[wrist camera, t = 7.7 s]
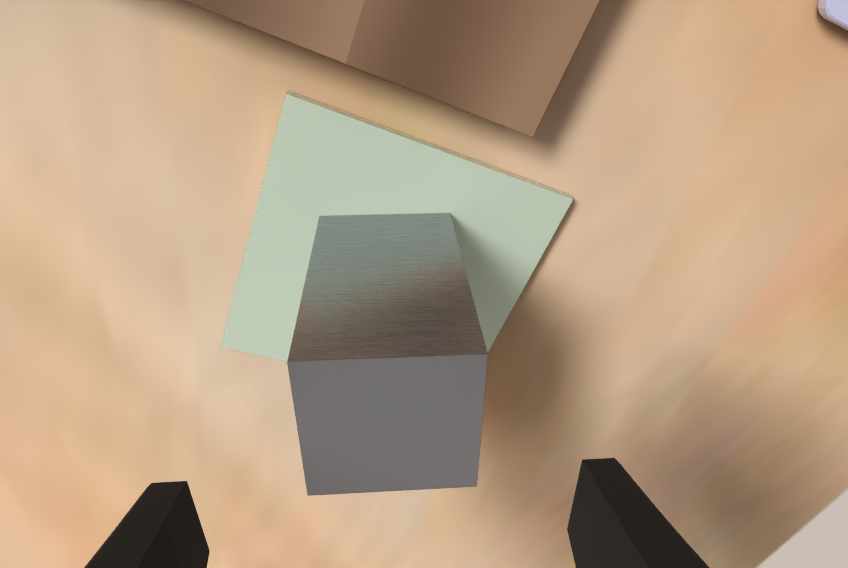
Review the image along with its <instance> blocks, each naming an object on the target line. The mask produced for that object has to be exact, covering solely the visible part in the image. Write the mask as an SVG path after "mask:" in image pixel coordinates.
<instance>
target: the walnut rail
mask: <svg viewBox="0 0 848 568" xmlns="http://www.w3.org/2000/svg"><path fill="white" fill-rule="evenodd" d="M184 1H187V2H189V3H192V4H194V5H197V6H199V7H202V8H204V9H207V10H209V11H212V12H215V13H217V14H220V15H222V16H225V17H227V18H230V19H232V20H235V21H238V22H240V23H243V24H245V25H248V26H250V27H253V28H255V29H258V30H261V31H263V32H266V33H268V34H271V35H273V36H276V37H278V38H281V39H283V40H286V41H289V42H291V43H294V44H296V45H299V46H301V47H304V48H306V49H309V50H312V51H314V52H317V53H319V54H322V55H324V56H327V57H329V58H332V59H335V60H337V61H340V62H342V63H345V64H347V65H350V66H352V67H355V68H357V69H360V70H363V71H365V72H368V73H370V74H373V75H375V76H378V77H380V78H383V79H386V80H388V81H391V82H393V83H396V84H398V85H401V86H403V87H406V88H409V89H411V90H414V91H416V92H419V93H421V94H424V95H426V96H429V97H431V98H434V99H437V100H439V101H442V102H444V103H447V104H449V105H452V106H454V107H457V108H460V109H462V110H465V111H467V112H470V113H472V114H475V115H477V116H480V117H483V118H485V119H488V120H490V121H493V122H495V123H498V124H500V125H503V126H505V127H508V128H511V129H513V130H516V131H518V132H521V133H523V134H526V135H528V136H531V137H533V135H534V133H535V131H536V129H537V127H538V125H539V123H540V121H541V119H542V117H543V115H544V113H545V111H546V109H547V107H548V105H549V102H550V100H551V98H552V96H553V94H554V92H555V90H556V88H557V86H558V84H559V82H560V80H561V78H562V76H563V74H564V72H565V70H566V68H567V66H568V64H569V62H570V60H571V58H572V56H573V53H574V51H575V49H576V47H577V45H578V43H579V41H580V39H581V37H582V35H583V33H584V31H585V29H586V27H587V25H588V23H589V21H590V19H591V17H592V15H593V13H594V11H595V9H596V7H597V4H598V2H599V0H184Z"/></svg>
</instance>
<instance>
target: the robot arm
mask: <svg viewBox="0 0 848 568" xmlns="http://www.w3.org/2000/svg"><path fill="white" fill-rule="evenodd" d="M818 10H819V13H820V15H821V16H822V17H823V18H825V19H827V20H828V21H830V22H832V23H834V24H836V25H838V26H840V27H842V28H844V29H845V30H847V31H848V0H819V3H818ZM567 530H568V534H569V539H570V543H571V547H572V552H573V556H574V561H575V565H576V568H709V567H708V565H707V564H706V563H705V562H704V561H703V560H702V559H701V558H700V557H699V556H698V554H697V553H696V552H695V551H694V550H693V549H692V548H691V547H690V546H689V545H688V543H687V542H686V541H685V540H684V539H683V538H682V537H681V536H680V534H679V533H678V532H677V531H676V530H675V529H674V528H673V526H672V525H671V524H670V523H669V522H668V521H667V519H666V518H665V517H664V516H663V515H662V514H661V512H660V511H659V510H658V509H657V508H656V507H655V505H654V504H653V503H652V502H651V501H650V499H649V498H648V497H647V496H646V495H645V493H644V492H643V491H642V490H641V489H640V487H639V486H638V485H637V484H636V483H635V481H634V480H633V479H632V478H631V476H630V475H629V474H628V473H627V472H626V470H625V469H624V468H623V467H622V465H621V464H620V463H619V462H618V461H617V460H616V459H615V458H606V459H587V460H582V463H581V468H580V473H579V477H578V482H577V487H576V491H575V496H574V500H573V505H572V510H571V514H570V519H569V524H568V528H567ZM208 557H209V548H208V545H207V542H206V539H205V536H204V533H203V529H202V526H201V523H200V520H199V517H198V514H197V511H196V508H195V505H194V502H193V499H192V496H191V493H190V489H189V486H188V483H187V481H179V482H161V483H151V484H150V485H149V486H148V487H147V488H146V490H145V491H144V492H143V493H142V495H141V496H140V497H139V499H138V500H137V501H136V502H135V504H134V505H133V506H132V508H131V509H130V510H129V512H128V513H127V514H126V515H125V517H124V518H123V519H122V521H121V522H120V523H119V524H118V526H117V527H116V528H115V530H114V531H113V532H112V533H111V535H110V536H109V537H108V539H107V540H106V541H105V542H104V544H103V545H102V546H101V547H100V549H99V550H98V551H97V552H96V554H95V555H94V556H93V557H92V559H91V560H90V561H89V562H88V564H87V565H86V566H85V567H84V568H207V562H208Z"/></svg>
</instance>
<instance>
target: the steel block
mask: <svg viewBox="0 0 848 568" xmlns="http://www.w3.org/2000/svg"><path fill="white" fill-rule="evenodd" d="M487 360H488V352H487V349H486V345H485V341H484V338H483V334H482V330H481V326H480V323H479V319H478V315H477V311H476V308H475V304H474V300H473V297H472V293H471V289H470V285H469V282H468V278H467V274H466V270H465V267H464V263H463V259H462V256H461V252H460V248H459V244H458V241H457V237H456V233H455V229H454V226H453V222H452V218H451V215H450V213H418V214H373V215H328V216H319V220H318V224H317V229H316V233H315V238H314V242H313V247H312V252H311V256H310V261H309V265H308V270H307V274H306V279H305V283H304V288H303V293H302V297H301V302H300V306H299V311H298V315H297V320H296V324H295V329H294V334H293V338H292V343H291V347H290V352H289V356H288V361H287V364H288V370H289V377H290V383H291V390H292V396H293V403H294V409H295V416H296V422H297V429H298V435H299V442H300V448H301V455H302V461H303V468H304V474H305V481H306V487H307V494H308V495H327V494H346V493H364V492H383V491H402V490H420V489H439V488H458V487H476V486H477V479H478V467H479V455H480V443H481V432H482V420H483V408H484V396H485V384H486V372H487Z"/></svg>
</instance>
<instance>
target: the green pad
mask: <svg viewBox="0 0 848 568" xmlns="http://www.w3.org/2000/svg"><path fill="white" fill-rule="evenodd" d="M572 201H573V199H572V197H571V196H570V195H569V194H566V193H564V192H561V191H558V190H555V189H553V188H550V187H547V186H545V185H542V184H539V183H536V182H534V181H531V180H528V179H526V178H523V177H520V176H518V175H515V174H512V173H509V172H507V171H504V170H501V169H499V168H496V167H493V166H491V165H488V164H485V163H482V162H480V161H477V160H474V159H472V158H469V157H466V156H464V155H461V154H458V153H455V152H453V151H450V150H447V149H445V148H442V147H439V146H436V145H434V144H431V143H428V142H426V141H423V140H420V139H418V138H415V137H412V136H409V135H407V134H404V133H401V132H399V131H396V130H393V129H391V128H388V127H385V126H382V125H380V124H377V123H374V122H372V121H369V120H366V119H363V118H361V117H358V116H355V115H353V114H350V113H347V112H345V111H342V110H339V109H336V108H334V107H331V106H328V105H326V104H323V103H320V102H318V101H315V100H312V99H309V98H307V97H304V96H301V95H299V94H296V93H293V92H290V91H288V92H287V93H286V96H285V100H284V104H283V108H282V112H281V115H280V119H279V123H278V127H277V131H276V135H275V138H274V142H273V146H272V150H271V154H270V157H269V161H268V165H267V169H266V173H265V177H264V180H263V184H262V188H261V192H260V196H259V200H258V203H257V207H256V211H255V215H254V219H253V223H252V226H251V230H250V234H249V238H248V242H247V246H246V249H245V253H244V257H243V261H242V265H241V269H240V272H239V276H238V280H237V284H236V288H235V291H234V295H233V299H232V303H231V307H230V311H229V314H228V318H227V322H226V326H225V330H224V334H223V337H222V341H221V345H220V346H222V347H226V348H230V349H234V350H238V351H242V352H246V353H250V354H254V355H258V356H262V357H266V358H270V359H274V360H278V361H282V362H286V363H287V361H288V356H289V352H290V347H291V343H292V338H293V334H294V329H295V324H296V320H297V315H298V311H299V306H300V302H301V297H302V293H303V288H304V283H305V279H306V274H307V270H308V265H309V261H310V256H311V252H312V247H313V242H314V238H315V233H316V229H317V224H318V220H319V216H328V215H373V214H418V213H450V215H451V218H452V222H453V226H454V229H455V233H456V237H457V241H458V244H459V248H460V252H461V256H462V259H463V263H464V267H465V270H466V274H467V278H468V282H469V285H470V289H471V293H472V297H473V300H474V304H475V308H476V311H477V315H478V319H479V323H480V326H481V330H482V334H483V338H484V341H485V345H486V349H487V352H489V350H490V348H491V346H492V344H493V343H494V341H495V339H496V337H497V335H498V334H499V332H500V330H501V328H502V326H503V325H504V323H505V321H506V319H507V317H508V316H509V314H510V312H511V310H512V308H513V307H514V305H515V303H516V301H517V299H518V298H519V296H520V294H521V292H522V290H523V289H524V287H525V285H526V283H527V281H528V280H529V278H530V276H531V274H532V272H533V271H534V269H535V267H536V265H537V264H538V262H539V260H540V258H541V256H542V255H543V253H544V251H545V249H546V247H547V246H548V244H549V242H550V240H551V238H552V237H553V235H554V233H555V231H556V229H557V228H558V226H559V224H560V222H561V220H562V219H563V217H564V215H565V213H566V211H567V210H568V208H569V206H570V204H571V202H572Z"/></svg>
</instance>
